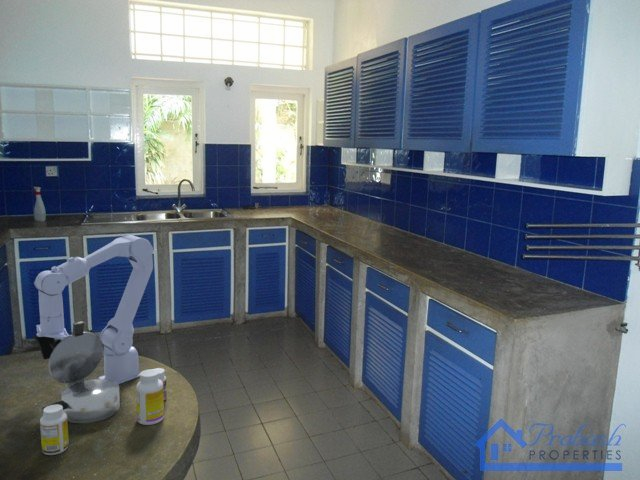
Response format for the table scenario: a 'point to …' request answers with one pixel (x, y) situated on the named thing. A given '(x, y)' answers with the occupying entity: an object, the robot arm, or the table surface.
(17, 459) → the table surface
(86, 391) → the cooker pot
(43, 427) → the supplement bottle
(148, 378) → the supplement bottle
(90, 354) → the cooker lid
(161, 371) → the pill bottle
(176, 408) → the table surface
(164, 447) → the table surface
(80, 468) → the table surface
